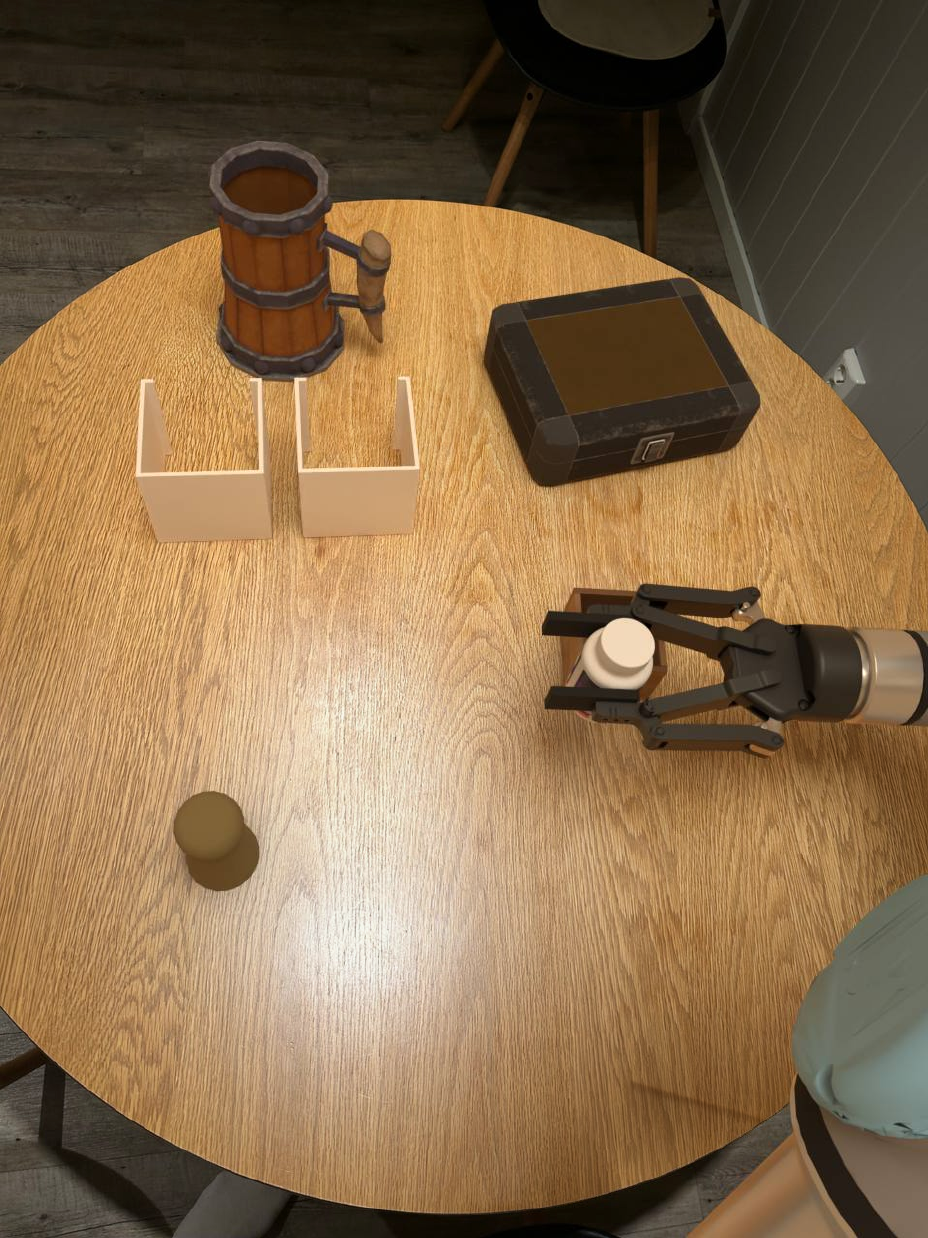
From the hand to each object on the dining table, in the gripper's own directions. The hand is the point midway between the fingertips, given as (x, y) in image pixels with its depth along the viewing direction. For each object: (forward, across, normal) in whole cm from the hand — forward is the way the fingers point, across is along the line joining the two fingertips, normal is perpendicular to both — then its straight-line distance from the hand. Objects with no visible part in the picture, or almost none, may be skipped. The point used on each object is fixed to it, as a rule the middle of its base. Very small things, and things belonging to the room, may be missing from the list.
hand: (547, 659), depth 70 cm
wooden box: (-9, +9, -18) cm, 22 cm away
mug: (+23, +47, -19) cm, 55 cm away
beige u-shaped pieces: (+23, +26, -18) cm, 39 cm away
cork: (+25, -11, -18) cm, 33 cm away
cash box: (-12, +41, -19) cm, 47 cm away
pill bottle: (-5, 0, -6) cm, 8 cm away
